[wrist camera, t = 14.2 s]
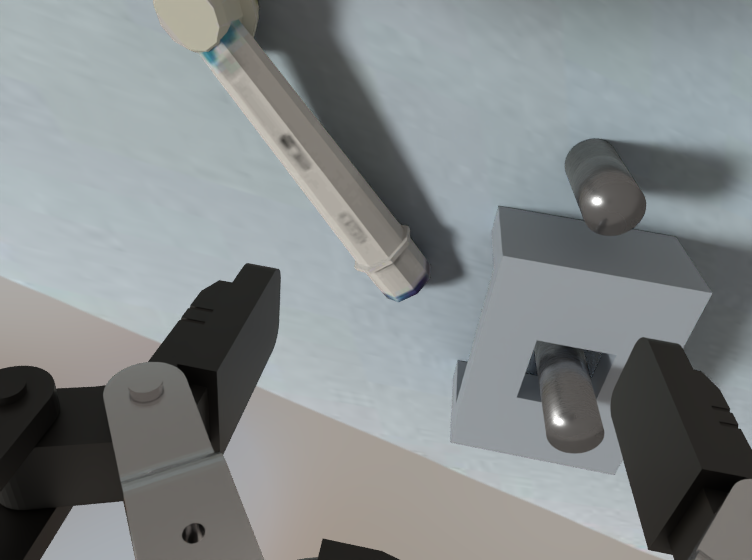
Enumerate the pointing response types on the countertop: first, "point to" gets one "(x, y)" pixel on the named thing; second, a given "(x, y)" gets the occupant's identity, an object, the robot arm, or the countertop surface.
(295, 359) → the countertop surface
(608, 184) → the short pin
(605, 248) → the bridge
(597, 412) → the tall pin
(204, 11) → the beige toy mallet
